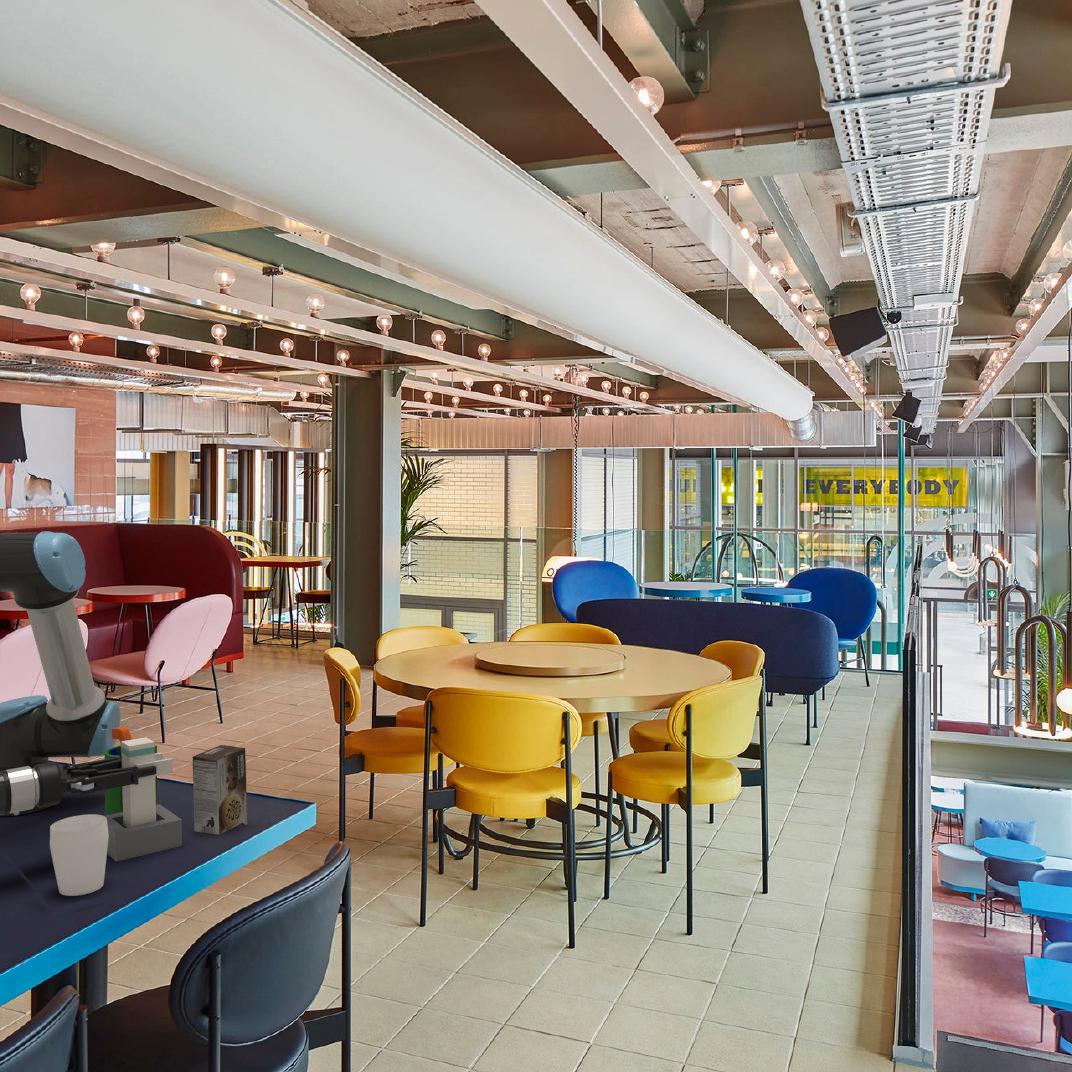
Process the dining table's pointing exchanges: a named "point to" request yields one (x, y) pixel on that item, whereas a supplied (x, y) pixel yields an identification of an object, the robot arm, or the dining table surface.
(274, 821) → the dining table surface
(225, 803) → the coffee box
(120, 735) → the motor
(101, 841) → the cup
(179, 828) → the socket
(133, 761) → the plug
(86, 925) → the dining table surface
